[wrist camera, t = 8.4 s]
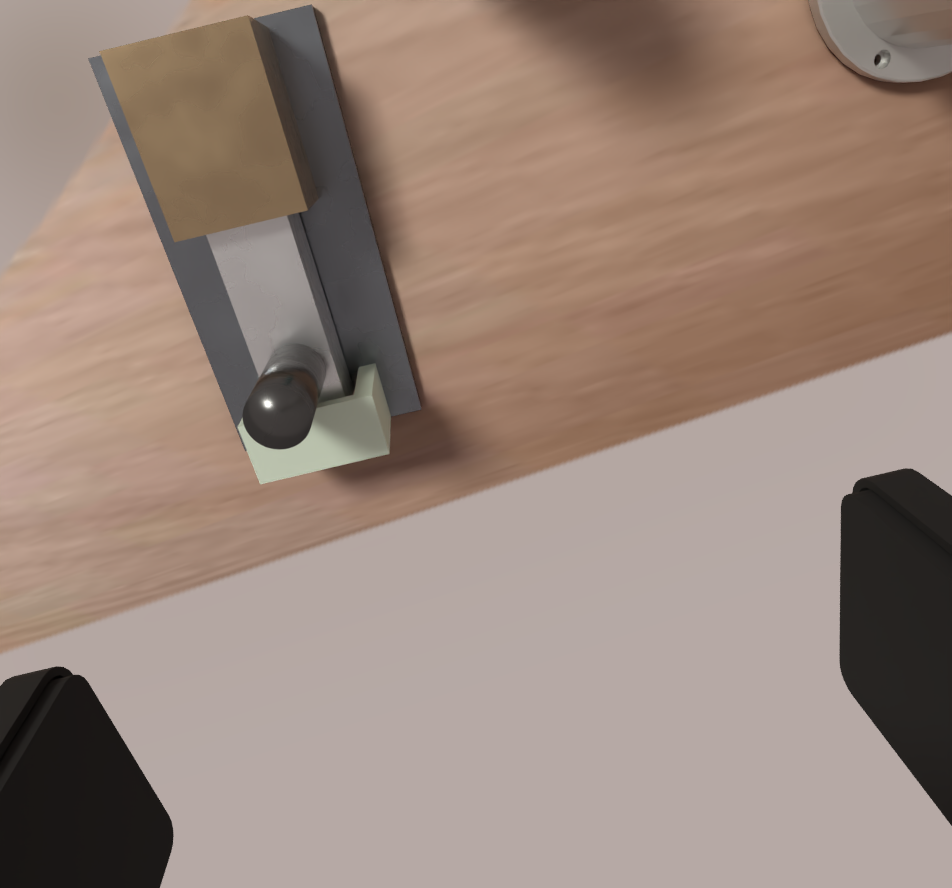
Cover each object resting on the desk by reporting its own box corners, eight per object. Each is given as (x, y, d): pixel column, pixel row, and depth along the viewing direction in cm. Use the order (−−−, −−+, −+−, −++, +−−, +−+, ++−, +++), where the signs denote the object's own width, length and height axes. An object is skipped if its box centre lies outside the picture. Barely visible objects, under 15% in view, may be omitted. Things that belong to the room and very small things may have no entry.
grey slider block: (283, 157, 37) (244, 173, 28) (360, 404, 43) (349, 485, 34) (204, 177, 37) (138, 199, 28) (292, 420, 43) (261, 505, 34)
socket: (375, 363, 42) (371, 395, 37) (391, 416, 44) (389, 453, 39) (255, 391, 42) (237, 427, 37) (275, 444, 44) (260, 484, 39)
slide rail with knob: (312, 6, 35) (297, -12, 30) (421, 405, 44) (423, 444, 39) (93, 59, 35) (40, 51, 30) (247, 446, 44) (226, 490, 39)
